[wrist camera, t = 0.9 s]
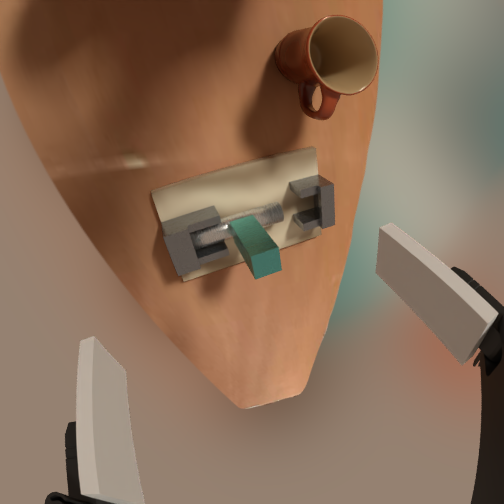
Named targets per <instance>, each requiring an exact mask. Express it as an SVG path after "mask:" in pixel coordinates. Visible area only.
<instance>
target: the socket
mask: <svg viewBox="0 0 504 504" xmlns="http://www.w3.org/2000/svg"><path fill="white" fill-rule="evenodd" d="M289 184H290V190H291V191H292V192H293V193H295V194H296V195H297V196H299V197H300V198H304V197H308V196H311V195H313V197H314V208H311V209H308V210H305V211H302V212H298V213H295V214H293V220H294V222H295V223H296V224H297V225H298V226H299V227H300V228H301V229H302V230H303V231H307V230H310V229H313V228H316V227H319V226H320V227H321V228H322V229H324V228H327V227H330V226H333V225H335V208H334V184H333V183H332V182H330V181H328V180H327V179H325V178H323V177H322V176H320V175H314V176H310V177H306V178H302V179H298V180H294V181H291V182H289Z"/></svg>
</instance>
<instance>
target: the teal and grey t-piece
mask: <svg viewBox="0 0 504 504" xmlns="http://www.w3.org/2000/svg"><path fill="white" fill-rule="evenodd" d="M283 221H284V214H283V210H282V207H281V205H280V204H279V202H277V201H276V202H273V203H270V204H266V205H263V206H260V207H256V208H253V209H250V210H246V211H243V212H240V213H237V214H233V215H230V216H227V217H224V218H221V223H219V224H216V225H213V226H210V227H207V228H204V229H200V230H197V231H194V232H191V233H189V234H190V237H191V240H192V243H193V246H194V249H195V250H197V249H200V248H203V247H206V246H209V245H212V244H215V243H218V242H221V241H224V240H227V239H231V238H233V239H234V243H235V244H236V246H237V248H238V250H239V252H240V253H241V255H242V257H243V259H244V260H245V262H246V264H247V266H248V267H249V269H250V271H251V273H252V274H253V276H254V278H255V279H258V278H261V277H264V276H267V275H270V274H272V273H275V272H278V271H281V270H282V268H281V261H280V253H279V247H278V246H277V244H276V243H275V242H274V241H273V239H272V238H271V237H270V236H269V234H268V233H267V232H266V231H265V229H264V228H265V227H268V226H271V225H274V224H277V223H280V222H283Z"/></svg>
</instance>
